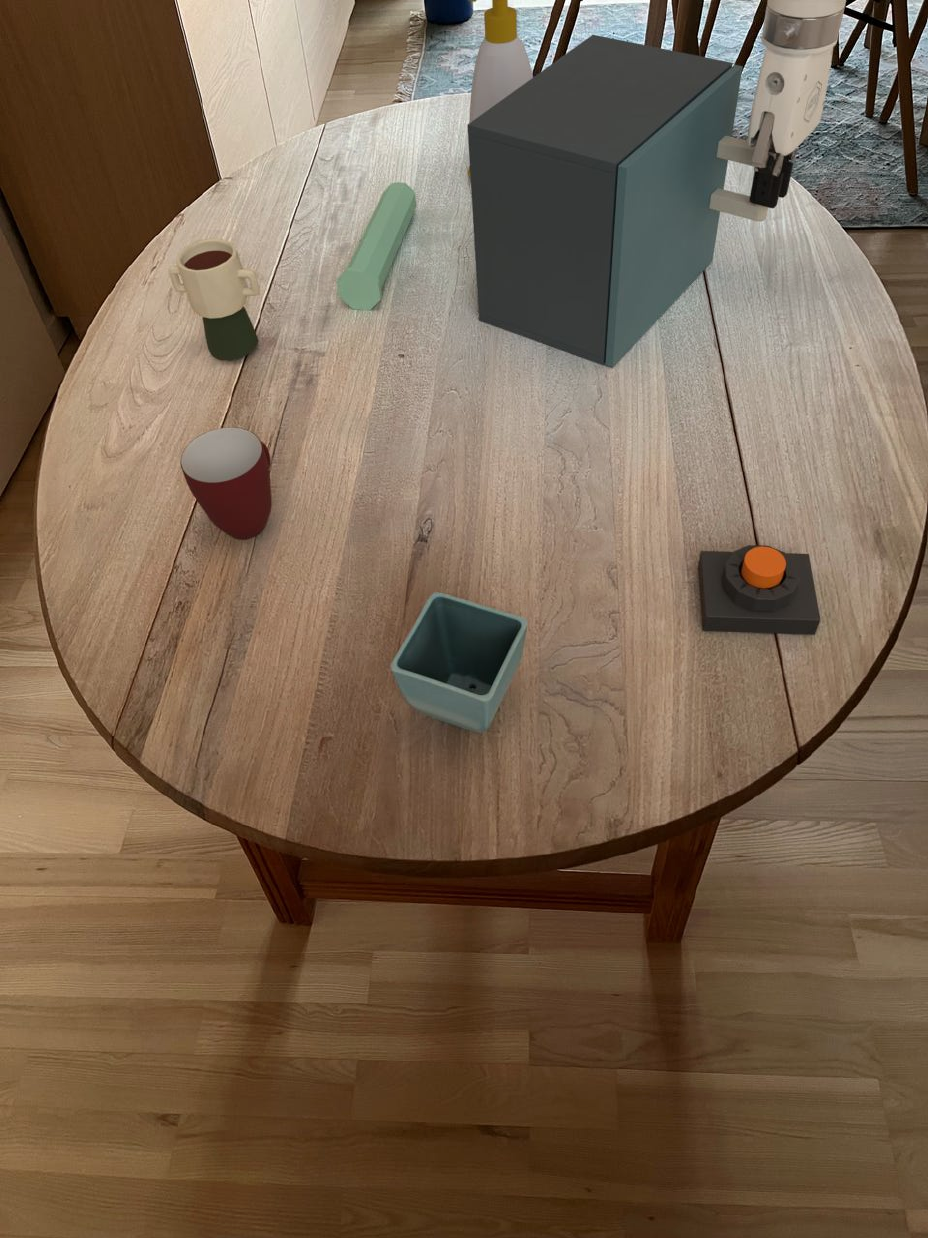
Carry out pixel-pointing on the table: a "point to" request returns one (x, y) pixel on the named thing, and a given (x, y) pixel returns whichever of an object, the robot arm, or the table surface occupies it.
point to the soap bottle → (498, 60)
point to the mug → (230, 479)
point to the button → (763, 567)
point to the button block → (756, 596)
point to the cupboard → (567, 184)
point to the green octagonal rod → (377, 248)
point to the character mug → (218, 295)
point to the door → (673, 211)
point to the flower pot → (459, 660)
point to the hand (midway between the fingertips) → (767, 198)
